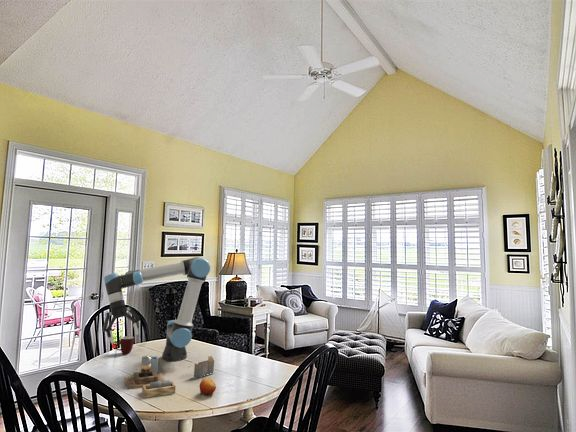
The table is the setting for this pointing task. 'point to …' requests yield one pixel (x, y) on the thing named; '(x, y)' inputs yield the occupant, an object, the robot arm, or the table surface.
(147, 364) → the cell
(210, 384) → the fruit
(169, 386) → the trough
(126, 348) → the mug
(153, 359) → the cup
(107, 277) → the robot arm
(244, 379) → the table surface
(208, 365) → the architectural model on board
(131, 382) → the cradle
